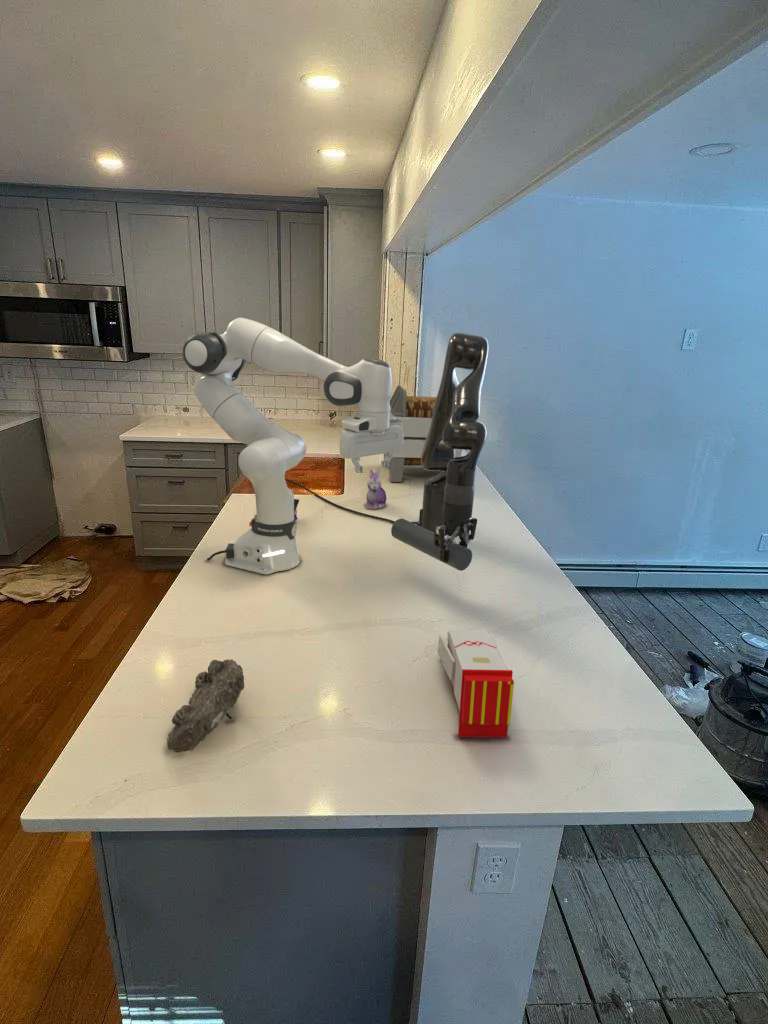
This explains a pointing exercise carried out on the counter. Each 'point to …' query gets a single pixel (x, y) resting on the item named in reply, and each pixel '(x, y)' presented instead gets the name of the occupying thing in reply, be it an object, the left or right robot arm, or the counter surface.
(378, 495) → the figurine
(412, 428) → the white crate
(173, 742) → the fossil
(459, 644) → the toy
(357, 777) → the counter surface
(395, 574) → the counter surface
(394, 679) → the counter surface
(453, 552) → the rod
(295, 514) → the figurine character
